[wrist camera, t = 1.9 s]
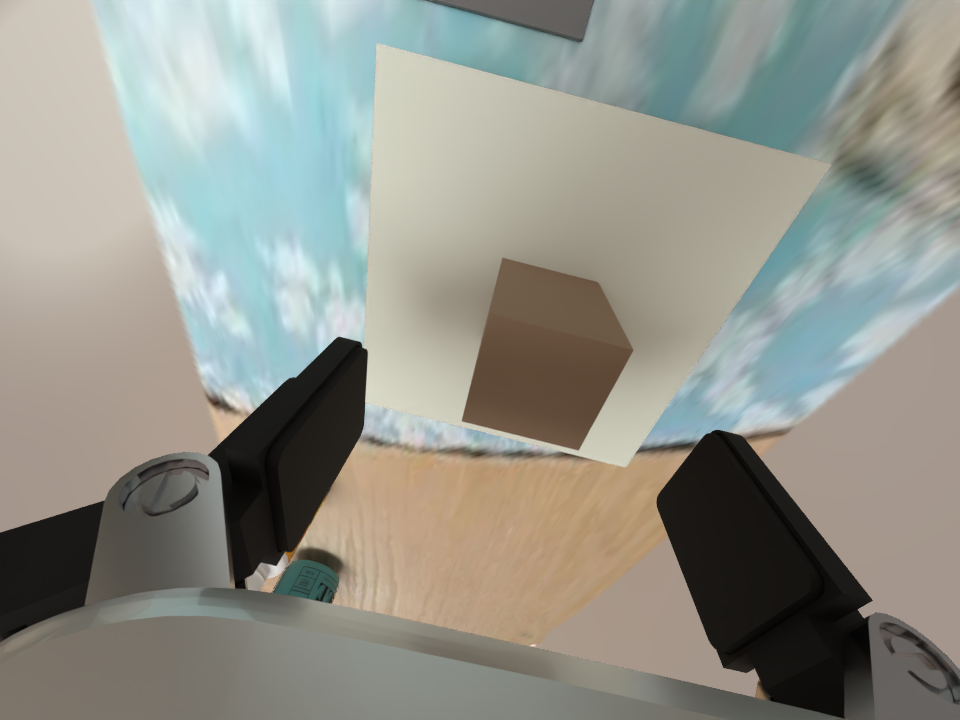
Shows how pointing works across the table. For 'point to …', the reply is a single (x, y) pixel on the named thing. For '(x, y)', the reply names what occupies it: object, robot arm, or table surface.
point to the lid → (553, 253)
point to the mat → (533, 14)
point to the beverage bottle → (308, 581)
